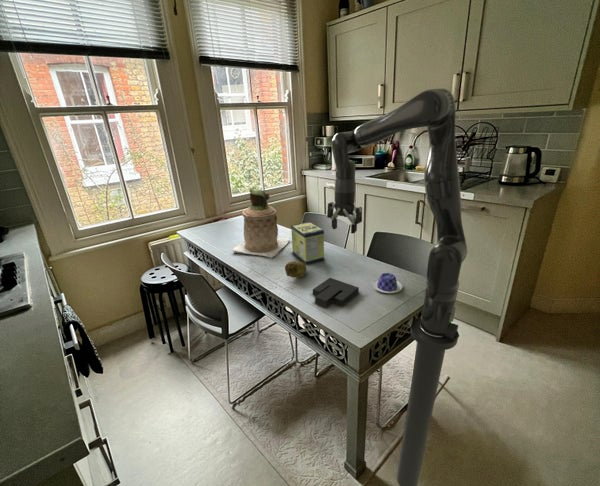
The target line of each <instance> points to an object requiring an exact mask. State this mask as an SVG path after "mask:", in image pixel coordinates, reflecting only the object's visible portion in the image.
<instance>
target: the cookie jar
mask: <svg viewBox="0 0 600 486" xmlns="http://www.w3.org/2000/svg"><path fill="white" fill-rule="evenodd" d="M248 191H249V201H250V202H251V204H250V205H249V206H248V207H247V208H245V209H243V210H242V212H241V214H242V217H243V239H244V240H243V242H241V243H239V244H238V245H236V246H234V247H233V248H232V250H231V251H233V254H235V255H236V253H237V254H244V255H253V256H261V257H266V258H271V259H272V258H273V257H274V256H277V255H278V254H279V252H281V250H282V249H283V248H285V247H286V246H287V245H288V244H289V242H290V238H289V237H281V236H279V228H278V227H279V226H278V224H277V219H278V217H277V216H278V215H277V210H276V209H275V208H274V207H273V206H271V205H270V204H268V202H267V201H268V200H270V194H269V193H268V192H266V191H265V190H262V189H249V190H248Z"/></svg>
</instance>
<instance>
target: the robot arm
mask: <svg viewBox="0 0 600 486" xmlns="http://www.w3.org/2000/svg"><path fill="white" fill-rule="evenodd" d="M456 109H457V107H456V100H455V97H454V95H453V93H452V92H451V91H450V90H448V89H446V88H429V89H424V90H423V91H421V92H419V93H418V94H416V95H415V96H413V97H412V98H411V99H409V100H407V101H406V102H405V103H403V104H402V105H400V106H399V107H397V108H394V109H393V110H392V111H390V112H387V113H385V114H382V115H380V116H378V117H376V118H373V119H370V120H369V121H366V122H364V123H362V124H360V125H358V126H357V127H356V128H355V129H353V130H351V131H343V132H337V133H336V134H334V136H333V138H332V140H331V152H332V157H333V161H334V164H335V180H334V201H331V202H329V203H327V213H326V217H327V219H330V220H331V228H332V230H336V229H337V228H338V217H344V218H347V220H349V222H350V224H351V225H350V233H351V234H352V235H353V234H355V233H356V232H357V231H358V224H360V223H362V222H363V207H362V206H359V207H358V206H355V201H356V162H355V160H352V159H350V157H349V154H351V153H355V152H359V151H360V150H362V149H364V148H365V147H368V146H371V145H374V144H376V143H379V142H381V141H384V140H386V139H388V138H389V137H392V136H393V135H395V134H397V133H400V132H403V131H407V130H411V129H418V128H427V134H428V135H427V136H428V144H429V145H428V154H427V158H426V163H425V167H424V172H423V173H424V174H423V182H424V190H425V192H424V193H425V197H426V201H427V204H428V207H429V209H430V211H431V213H432V216H433V217H434V221H435V224H436V244H434V245H433V246H432V248H431V250H430V251H429V255H428V260H427V267H426V287H425V294H424V298H423V299H424V301H423V305H422V313H421V317H422V318H421V323H420V329H421V331H422V332H423V333H424V334H426V335H427V336H430V337H433V338H442V339H446V338H447V337H450V338H451V339H457V338H458V339H459V337H460V334H459V331H458V329H459V324H456V323H454V317H455V313H456V308H457V307H456V301H457V295H458V291H459V287H460V281H459V279H460V273H461V268H462V265H463V262H464V261H465V259H466V257H467V255H468V245H467V240H466V236H465V232H464V227H463V226H464V225H463V221H462V197H461V194H462V193H461V180H460V172H459V165H458V152H457V151H458V150H457V142H456V111H457V110H456ZM334 209H335V211H334ZM457 331H458V332H457ZM455 335H456V336H455Z"/></svg>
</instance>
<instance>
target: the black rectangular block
mask: <svg viewBox="0 0 600 486" xmlns="http://www.w3.org/2000/svg"><path fill="white" fill-rule="evenodd" d="M339 294H340V290H339V289H337V288H334V287H331V286H329V287H328V288H327V289H325V290H324V291H322V292H321V293H320V294H318V295H317V296H316V295H315V296H314V303H315V304H316V305H318V306H320V307H322V308H325V309H326V308H328V307H329V306H330V305H331V304H333V303H334V298H335V297H336V296H337V295H339Z"/></svg>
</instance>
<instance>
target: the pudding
mask: <svg viewBox="0 0 600 486" xmlns="http://www.w3.org/2000/svg"><path fill="white" fill-rule="evenodd" d="M371 285H372V287H373V289H375V290H376V291H378V292H381V293H386V294H395V293H398V292H401V290H402V289H403V284H402V283H401V282H399V281H398V280H397V277H396V275H394V274H393V273H390V272H384V273H381V274H380V275H379V278H378V279H375V280H373V281H372V283H371Z"/></svg>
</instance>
